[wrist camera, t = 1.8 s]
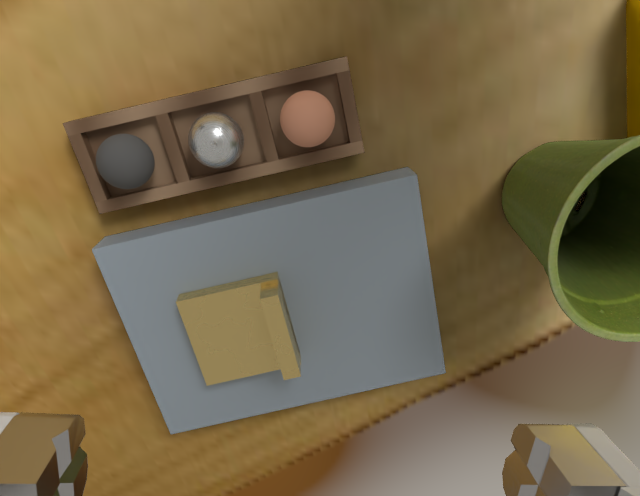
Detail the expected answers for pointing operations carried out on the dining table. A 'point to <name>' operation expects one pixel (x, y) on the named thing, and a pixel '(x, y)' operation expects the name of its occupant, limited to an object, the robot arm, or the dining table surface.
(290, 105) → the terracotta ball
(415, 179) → the grey flat slab
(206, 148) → the steel ball
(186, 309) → the brass cover
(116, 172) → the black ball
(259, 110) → the rack
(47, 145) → the dining table surface
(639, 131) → the element tile
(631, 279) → the plant pot
